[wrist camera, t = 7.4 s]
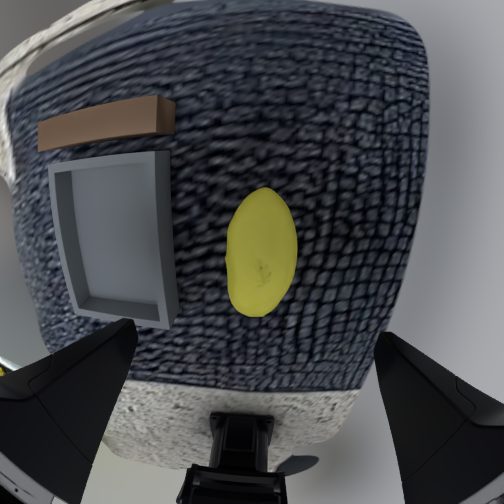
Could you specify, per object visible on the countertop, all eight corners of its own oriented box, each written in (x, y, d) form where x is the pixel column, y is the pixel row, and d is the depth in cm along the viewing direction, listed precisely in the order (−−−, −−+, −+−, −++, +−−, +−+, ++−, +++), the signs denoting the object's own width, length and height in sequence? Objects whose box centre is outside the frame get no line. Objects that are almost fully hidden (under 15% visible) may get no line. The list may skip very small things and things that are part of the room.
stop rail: (174, 134, 15) (155, 131, 12) (64, 148, 15) (37, 151, 12) (175, 103, 14) (157, 94, 11) (65, 122, 14) (38, 122, 12)
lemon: (222, 294, 19) (212, 328, 15) (237, 178, 16) (228, 187, 12) (281, 304, 19) (284, 339, 15) (306, 190, 16) (318, 203, 12)
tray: (179, 309, 19) (169, 329, 17) (90, 298, 20) (75, 313, 17) (170, 150, 15) (154, 151, 13) (70, 160, 16) (48, 164, 13)
